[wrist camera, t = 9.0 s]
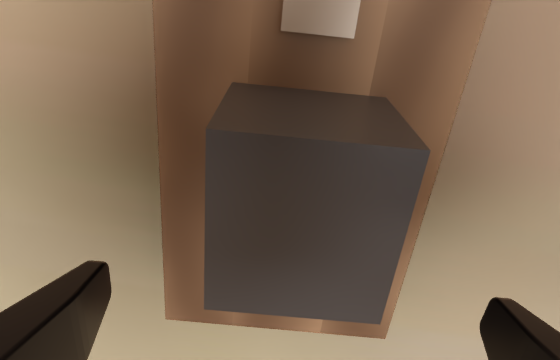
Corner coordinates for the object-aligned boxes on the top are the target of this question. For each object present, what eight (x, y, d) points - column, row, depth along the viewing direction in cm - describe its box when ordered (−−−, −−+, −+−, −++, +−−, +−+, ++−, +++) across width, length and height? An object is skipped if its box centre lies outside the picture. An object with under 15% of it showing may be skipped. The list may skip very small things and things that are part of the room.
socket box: (476, -77, 14) (530, -94, 11) (373, 296, 22) (387, 348, 19) (174, -113, 14) (139, -141, 11) (180, 278, 22) (162, 328, 19)
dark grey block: (375, 84, 16) (430, 150, 10) (349, 210, 19) (380, 324, 12) (238, 70, 16) (205, 128, 10) (232, 199, 19) (203, 309, 12)
